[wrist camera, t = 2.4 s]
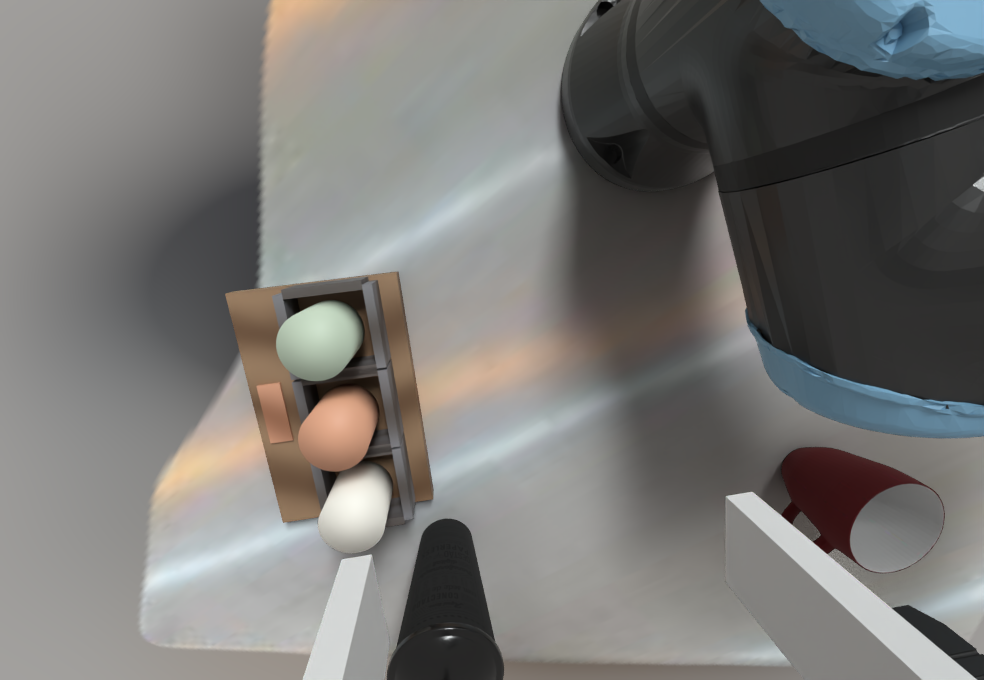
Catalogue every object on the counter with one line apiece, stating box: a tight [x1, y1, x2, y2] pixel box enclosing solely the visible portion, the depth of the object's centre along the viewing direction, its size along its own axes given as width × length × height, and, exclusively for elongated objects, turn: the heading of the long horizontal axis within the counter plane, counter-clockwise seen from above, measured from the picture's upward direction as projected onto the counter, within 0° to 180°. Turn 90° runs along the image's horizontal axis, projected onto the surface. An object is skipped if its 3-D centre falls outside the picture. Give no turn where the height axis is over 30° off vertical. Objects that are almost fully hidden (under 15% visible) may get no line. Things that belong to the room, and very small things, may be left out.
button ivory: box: [318, 461, 393, 553], centre depth 34 cm, size 5×5×5 cm
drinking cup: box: [387, 519, 504, 680], centre depth 33 cm, size 8×8×20 cm
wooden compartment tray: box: [225, 272, 434, 527], centre depth 37 cm, size 20×13×4 cm, turn 6°
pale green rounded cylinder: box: [276, 300, 365, 381], centre depth 31 cm, size 5×5×5 cm
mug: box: [781, 447, 945, 573], centre depth 40 cm, size 11×8×10 cm
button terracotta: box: [298, 384, 380, 472], centre depth 33 cm, size 5×5×5 cm
